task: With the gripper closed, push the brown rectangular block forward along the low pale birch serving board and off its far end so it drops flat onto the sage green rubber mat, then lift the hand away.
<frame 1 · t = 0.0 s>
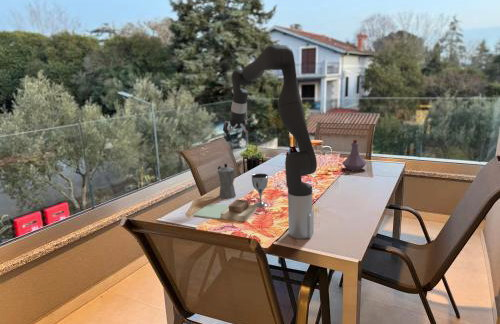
hand: (235, 138, 175), 31 cm above the table, tool tilted 20°, fingers open, 8 cm apart
coffeepot: (226, 195, 183), on the table
brown rectangular block: (238, 206, 155), point 4 cm above the table, touching board
flask: (354, 169, 226), on the table
mat: (214, 211, 160), on the table
wine glass: (260, 204, 167), on the table
board: (239, 214, 155), on the table
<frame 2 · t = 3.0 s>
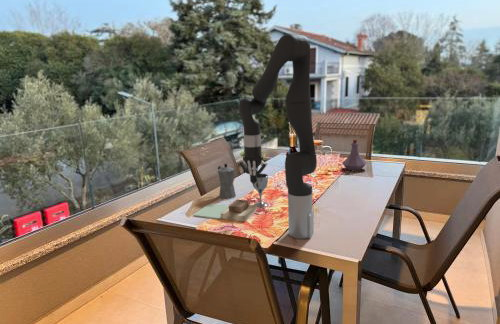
hand: (253, 182, 149), 16 cm above the table, tool pointing down, fingers closed
nothing on the table moved.
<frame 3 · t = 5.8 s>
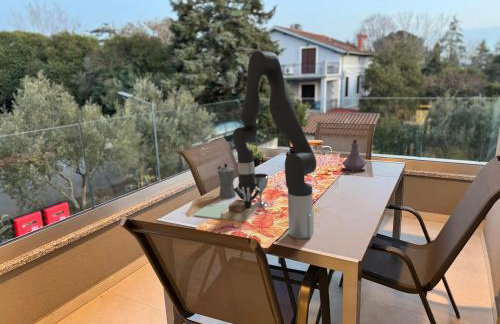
hand: (248, 208, 153), 4 cm above the table, tool pointing down, fingers closed
brown rectangular block: (238, 206, 155), point 4 cm above the table, touching board, gripper
everything else where it was.
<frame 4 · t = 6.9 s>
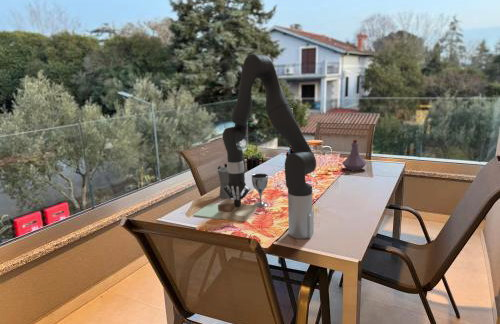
hand: (237, 206, 155), 4 cm above the table, tool pointing down, fingers closed
brown rectangular block: (228, 205, 156), point 4 cm above the table, touching board, gripper
everything else where it was.
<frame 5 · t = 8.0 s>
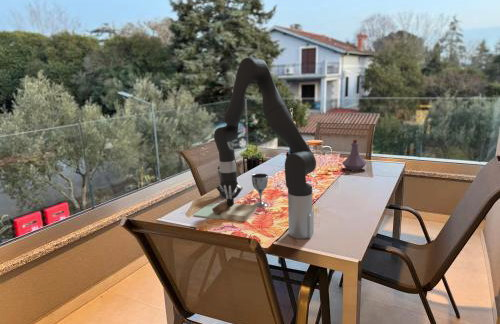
hand: (230, 205, 156), 4 cm above the table, tool pointing down, fingers closed
brown rectangular block: (222, 206, 158), point 3 cm above the table, tilted 25°, touching gripper, mat
everything else where it was.
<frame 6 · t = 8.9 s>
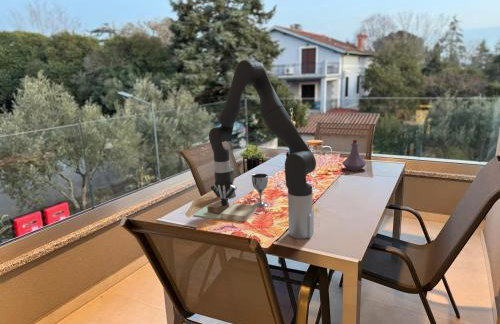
hand: (224, 205, 158), 4 cm above the table, tool pointing down, fingers closed
brown rectangular block: (218, 207, 160), point 2 cm above the table, touching gripper, mat
everything else where it was.
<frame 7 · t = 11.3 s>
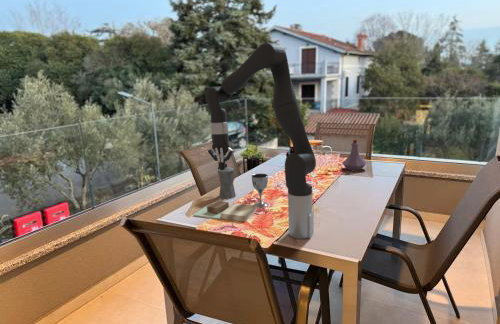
hand: (222, 169, 153), 21 cm above the table, tool pointing down, fingers closed
brown rectangular block: (218, 207, 160), point 2 cm above the table, touching mat
everything else where it was.
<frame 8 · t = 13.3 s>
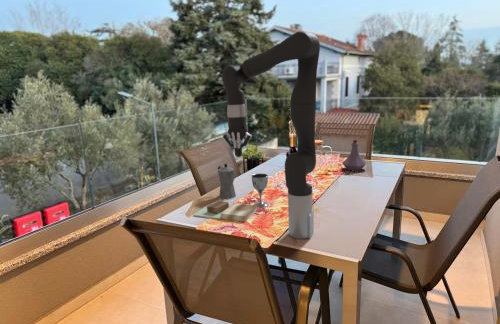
hand: (238, 156, 142), 29 cm above the table, tool pointing down, fingers closed
nothing on the table moved.
at the end: brown rectangular block point 2.1 cm above the table; brown rectangular block inside the target area (1.7 cm from its centre), point 2.1 cm above the table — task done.
